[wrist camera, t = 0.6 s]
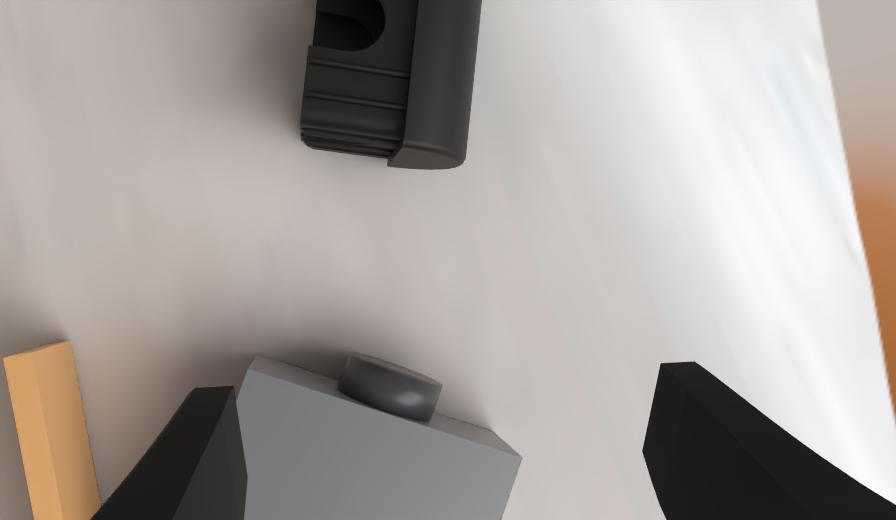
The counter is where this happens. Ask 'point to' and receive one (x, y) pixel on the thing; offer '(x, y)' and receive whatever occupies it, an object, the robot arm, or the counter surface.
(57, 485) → the long wooden stick
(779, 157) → the counter surface
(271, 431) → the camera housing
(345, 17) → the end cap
